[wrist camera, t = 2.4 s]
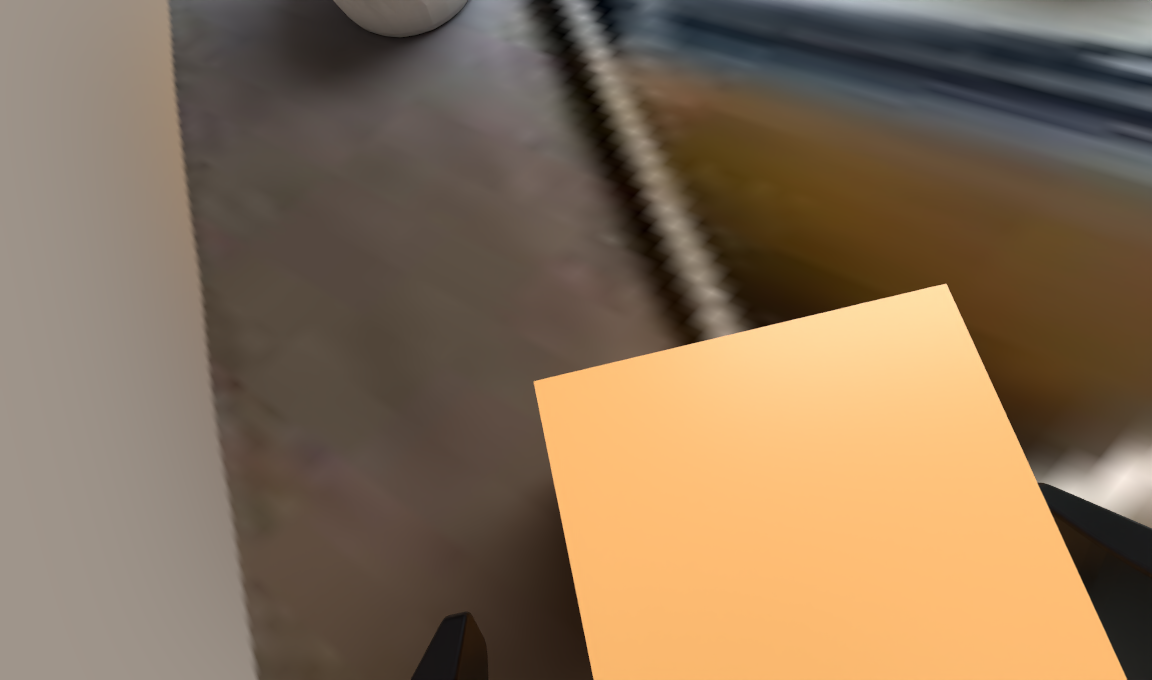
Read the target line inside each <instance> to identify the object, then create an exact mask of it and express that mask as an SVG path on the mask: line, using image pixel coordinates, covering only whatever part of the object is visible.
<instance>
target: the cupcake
mask: <svg viewBox="0 0 1152 680" xmlns="http://www.w3.org/2000/svg"><path fill="white" fill-rule="evenodd" d="M333 1H334V2H335V3H336V4H337V5H338V6H339V7H340V8H341V9H342V11H343V12H344V13H345V14H346V15H347V16H348V17H349V18H350V19H351V20H353V21H354V22H355V23H356V24H358V25H359V26H361V27H362V28H364V29H366V30H367V31H370V32H373V33H376V34H379V35H383V36H390V37H406V36H412V35H418V34H421V33H424V32H427V31H430V30H433V29H435V28H437V27H439V26H440V25H442V24H444V23H445V22H447V21H448V20H450V19H451V18H452V17H453V16H455V15H456V14H457V13H458V12H459V11H460V10H461V9H462V8H463V7H464V5H465V4H466V2H467V1H468V0H333Z"/></svg>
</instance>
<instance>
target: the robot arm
mask: <svg viewBox="0 0 1152 680" xmlns="http://www.w3.org/2000/svg"><path fill="white" fill-rule="evenodd" d="M1038 486H1039V488H1040V490H1041V492H1042V494H1043V497H1044V499H1045V501H1046V503H1047V505H1048V507H1049V510H1050V512H1051V514H1052V516H1053V518H1054V521H1055V523H1056V525H1057V527H1058V529H1059V532H1060V534H1061V536H1062V538H1063V540H1064V542H1065V545H1066V547H1067V549H1068V551H1069V553H1070V556H1071V558H1072V560H1073V562H1074V564H1075V567H1076V569H1077V571H1078V573H1079V575H1080V577H1081V580H1082V582H1083V584H1084V586H1085V588H1086V591H1087V593H1088V595H1089V597H1090V599H1091V602H1092V604H1093V606H1094V608H1095V610H1096V613H1097V615H1098V617H1099V619H1100V621H1101V623H1102V626H1103V628H1104V630H1105V632H1106V634H1107V637H1108V639H1109V641H1110V643H1111V645H1112V648H1113V650H1114V652H1115V654H1116V656H1117V658H1118V661H1119V663H1120V665H1121V667H1122V669H1123V672H1124V674H1125V676H1126V678H1127V680H1152V528H1149V527H1147V526H1145V525H1142V524H1140V523H1138V522H1135V521H1133V520H1131V519H1128V518H1126V517H1124V516H1121V515H1119V514H1117V513H1114V512H1112V511H1110V510H1107V509H1105V508H1103V507H1100V506H1098V505H1096V504H1093V503H1091V502H1089V501H1086V500H1084V499H1082V498H1079V497H1077V496H1075V495H1072V494H1070V493H1068V492H1065V491H1063V490H1061V489H1058V488H1056V487H1054V486H1051V485H1048V484H1045V483H1038ZM411 680H488V660H487V648H486V643H485V640H484V637H483V635H482V633H481V632H480V630H479V628H478V626H477V624H476V622H475V620H474V618H473V616H472V615H471V613H469V612H462V613H457V614H453V615H449V616H447V617H446V618H444V619H443V621H442V622H441V624H440V626H439V628H438V630H437V632H436V633H435V635H434V637H433V639H432V641H431V643H430V645H429V646H428V648H427V650H426V652H425V654H424V656H423V658H422V660H421V661H420V663H419V665H418V667H417V669H416V671H415V673H414V674H413V676H412V678H411Z"/></svg>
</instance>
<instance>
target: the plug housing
mask: <svg viewBox="0 0 1152 680" xmlns="http://www.w3.org/2000/svg"><path fill="white" fill-rule="evenodd" d="M534 386H535V391H536V396H537V401H538V406H539V411H540V416H541V421H542V426H543V431H544V435H545V440H546V445H547V450H548V455H549V460H550V465H551V470H552V475H553V480H554V485H555V490H556V495H557V500H558V505H559V510H560V515H561V520H562V525H563V530H564V535H565V540H566V545H567V550H568V555H569V560H570V565H571V570H572V574H573V579H574V584H575V589H576V594H577V599H578V604H579V609H580V614H581V619H582V624H583V629H584V634H585V639H586V644H587V649H588V654H589V659H590V664H591V669H592V674H593V679H594V680H1127V678H1126V676H1125V674H1124V672H1123V669H1122V667H1121V665H1120V663H1119V661H1118V658H1117V656H1116V654H1115V652H1114V650H1113V648H1112V645H1111V643H1110V641H1109V639H1108V637H1107V634H1106V632H1105V630H1104V628H1103V626H1102V623H1101V621H1100V619H1099V617H1098V615H1097V613H1096V610H1095V608H1094V606H1093V604H1092V602H1091V599H1090V597H1089V595H1088V593H1087V591H1086V588H1085V586H1084V584H1083V582H1082V580H1081V577H1080V575H1079V573H1078V571H1077V569H1076V567H1075V564H1074V562H1073V560H1072V558H1071V556H1070V553H1069V551H1068V549H1067V547H1066V545H1065V542H1064V540H1063V538H1062V536H1061V534H1060V532H1059V529H1058V527H1057V525H1056V523H1055V521H1054V518H1053V516H1052V514H1051V512H1050V510H1049V507H1048V505H1047V503H1046V501H1045V499H1044V497H1043V494H1042V492H1041V490H1040V488H1039V486H1038V483H1037V481H1036V479H1035V477H1034V475H1033V472H1032V470H1031V468H1030V466H1029V464H1028V462H1027V459H1026V457H1025V455H1024V453H1023V451H1022V448H1021V446H1020V444H1019V442H1018V440H1017V437H1016V435H1015V433H1014V431H1013V429H1012V426H1011V424H1010V422H1009V420H1008V418H1007V416H1006V413H1005V411H1004V409H1003V407H1002V405H1001V402H1000V400H999V398H998V396H997V394H996V391H995V389H994V387H993V385H992V383H991V381H990V378H989V376H988V374H987V372H986V370H985V367H984V365H983V363H982V361H981V359H980V356H979V354H978V352H977V350H976V348H975V346H974V343H973V341H972V339H971V337H970V335H969V332H968V330H967V328H966V326H965V324H964V321H963V319H962V317H961V315H960V313H959V311H958V308H957V306H956V304H955V302H954V300H953V297H952V295H951V293H950V291H949V289H948V286H947V284H943V285H939V286H934V287H930V288H926V289H922V290H918V291H913V292H909V293H905V294H901V295H896V296H892V297H888V298H884V299H880V300H875V301H871V302H867V303H863V304H858V305H854V306H850V307H846V308H842V309H837V310H833V311H829V312H825V313H820V314H816V315H812V316H808V317H804V318H799V319H795V320H791V321H787V322H782V323H778V324H774V325H770V326H766V327H761V328H757V329H753V330H749V331H744V332H740V333H736V334H732V335H728V336H723V337H719V338H715V339H711V340H706V341H702V342H698V343H694V344H689V345H685V346H681V347H677V348H673V349H668V350H664V351H660V352H656V353H651V354H647V355H643V356H639V357H635V358H630V359H626V360H622V361H618V362H613V363H609V364H605V365H601V366H597V367H592V368H588V369H584V370H580V371H575V372H571V373H567V374H563V375H559V376H554V377H550V378H546V379H542V380H537V381H534Z"/></svg>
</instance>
